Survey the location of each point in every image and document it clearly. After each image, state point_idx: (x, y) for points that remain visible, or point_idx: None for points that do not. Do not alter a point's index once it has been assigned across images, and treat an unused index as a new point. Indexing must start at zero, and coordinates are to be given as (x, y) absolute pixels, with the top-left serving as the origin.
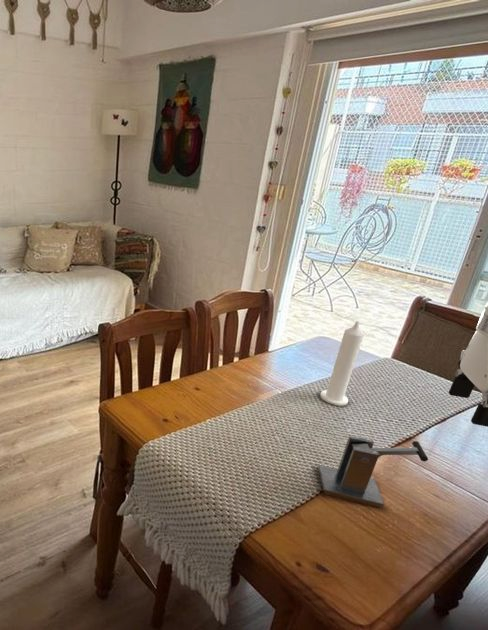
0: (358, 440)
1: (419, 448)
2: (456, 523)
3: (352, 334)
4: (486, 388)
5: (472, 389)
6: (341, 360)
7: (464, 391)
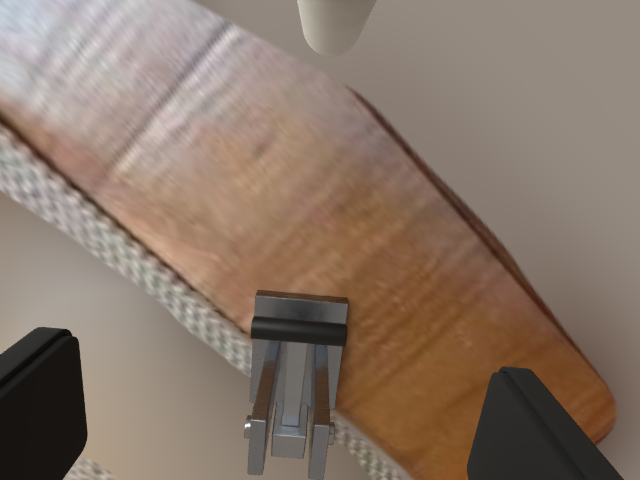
0: (264, 454)
1: (297, 339)
2: (353, 145)
3: None
4: None
5: (5, 399)
6: None
7: (43, 420)
